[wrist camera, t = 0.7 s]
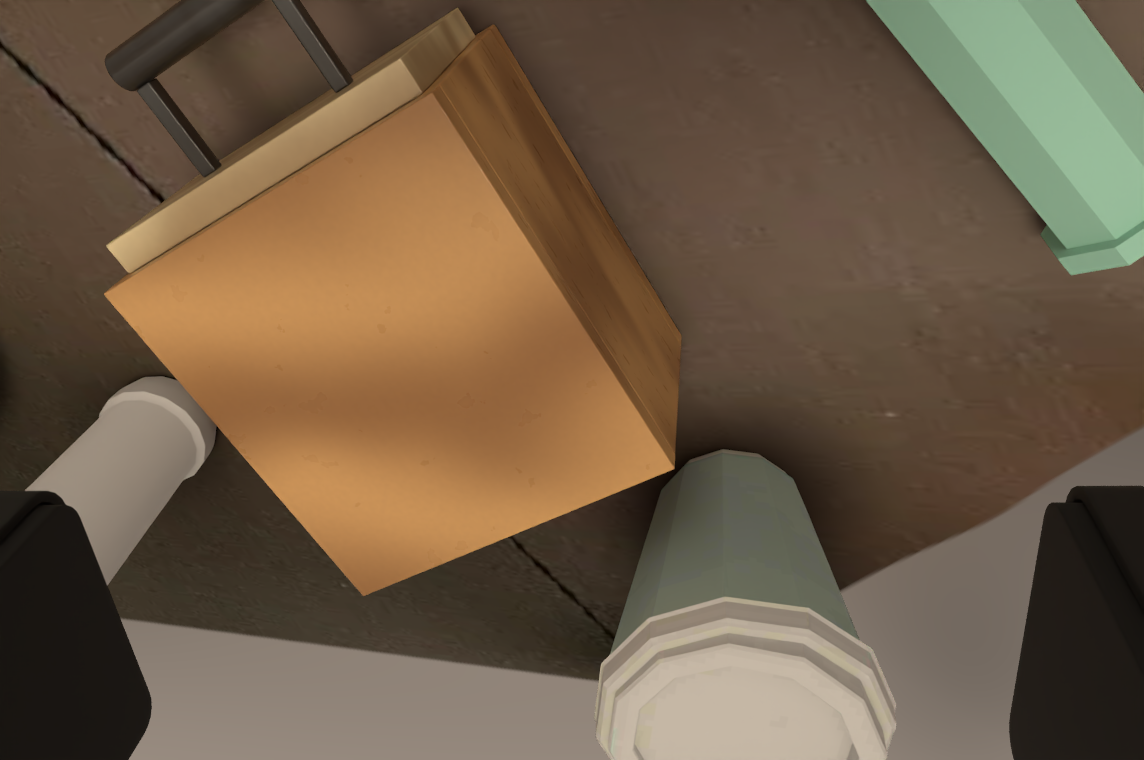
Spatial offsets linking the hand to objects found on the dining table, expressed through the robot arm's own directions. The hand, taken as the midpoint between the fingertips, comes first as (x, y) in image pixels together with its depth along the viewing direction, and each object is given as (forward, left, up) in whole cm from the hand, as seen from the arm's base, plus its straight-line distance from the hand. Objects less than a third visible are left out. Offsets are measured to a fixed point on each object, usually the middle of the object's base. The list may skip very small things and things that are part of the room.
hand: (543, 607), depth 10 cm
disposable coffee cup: (+21, -8, -31) cm, 38 cm away
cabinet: (+5, -13, -31) cm, 34 cm away
